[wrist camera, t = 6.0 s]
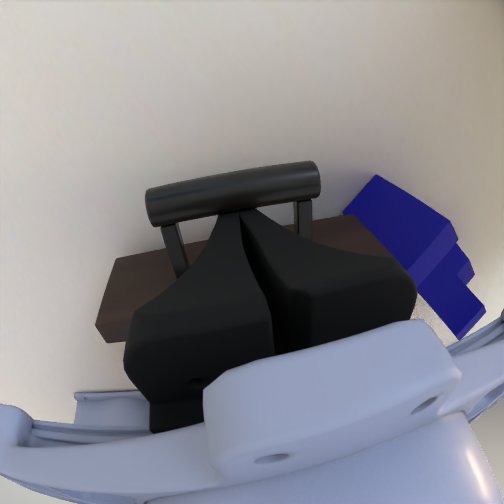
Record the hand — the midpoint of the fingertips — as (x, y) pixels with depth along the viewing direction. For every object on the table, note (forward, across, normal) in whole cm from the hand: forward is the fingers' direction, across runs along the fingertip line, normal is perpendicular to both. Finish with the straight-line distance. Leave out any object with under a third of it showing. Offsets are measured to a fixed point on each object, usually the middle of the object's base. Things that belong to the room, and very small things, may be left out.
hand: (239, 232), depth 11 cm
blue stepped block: (+4, -12, +5) cm, 13 cm away
